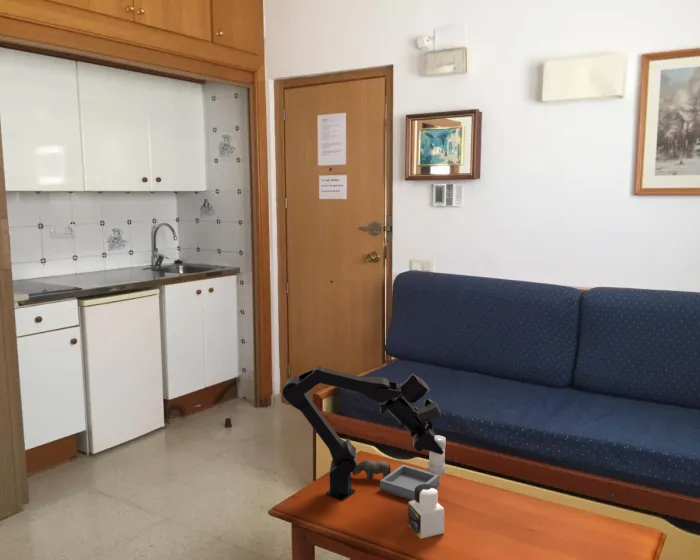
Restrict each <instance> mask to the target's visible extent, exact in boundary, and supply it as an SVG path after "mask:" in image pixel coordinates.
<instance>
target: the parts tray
mask: <svg viewBox="0 0 700 560" xmlns="http://www.w3.org/2000/svg"><path fill="white" fill-rule="evenodd" d="M390 472H391V473H390V474H389V475H388V474H387V476H386V477H384V478H383V477H382V478H383V479H382V478H381V479H380V480H379V482H380V483H379V490H380V491H384V492H386V493H389V494H391V495H395V496H398V497H402V498H404V499H407V500H410V501H413V500H415V488H416V487H417V486H418V485H421V484H429V485H433V486H435V487H436V488H437V487H438V486H439V485H440V478H441V477H440V475H441V474H440V475H436V474H432V473H430V472H429V471H426V470H423V469H420V468H417V467H412V466H410V465H407V464H401V465H400V466H399V467H397V468H396V469H394V470H393V471H390Z"/></svg>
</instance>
